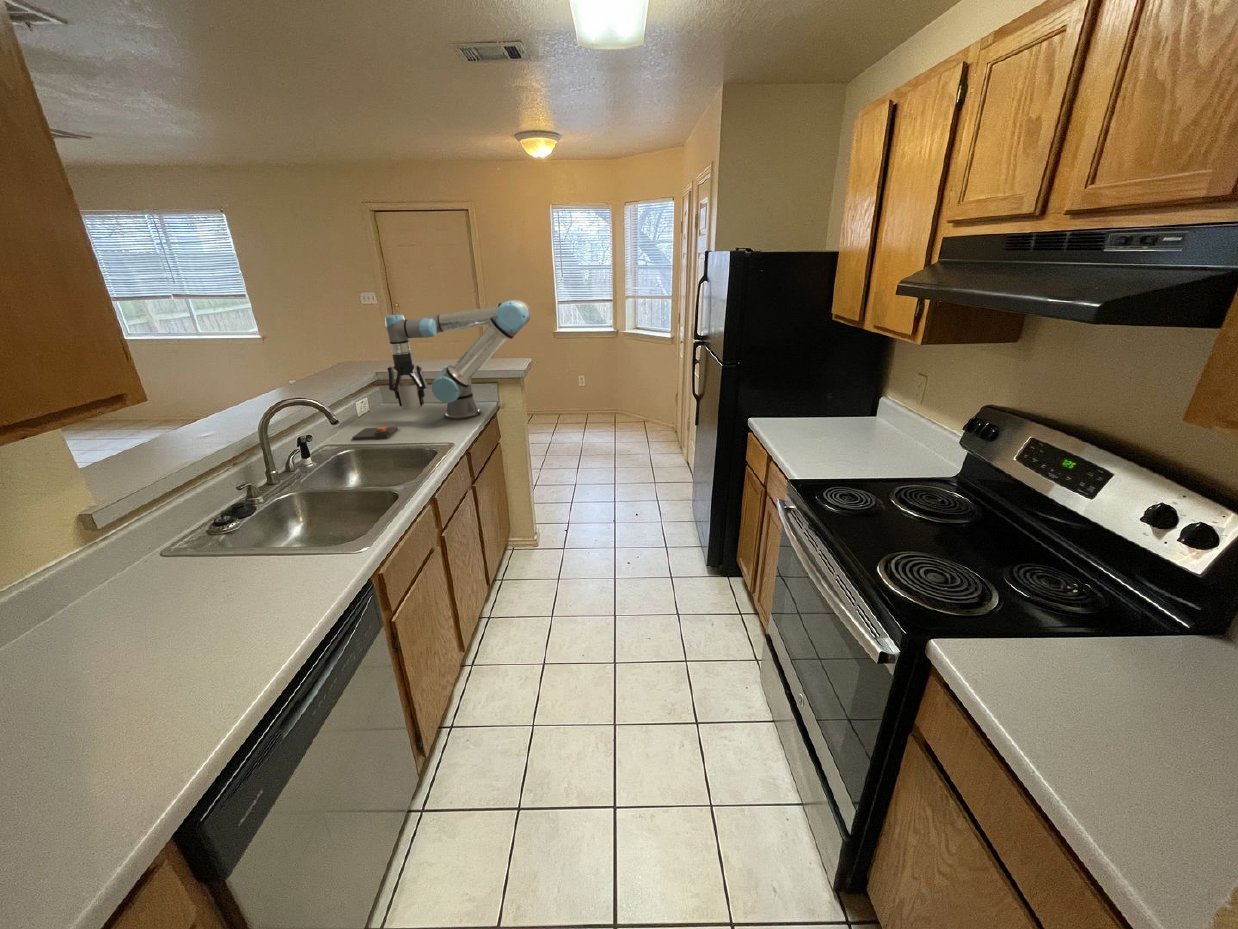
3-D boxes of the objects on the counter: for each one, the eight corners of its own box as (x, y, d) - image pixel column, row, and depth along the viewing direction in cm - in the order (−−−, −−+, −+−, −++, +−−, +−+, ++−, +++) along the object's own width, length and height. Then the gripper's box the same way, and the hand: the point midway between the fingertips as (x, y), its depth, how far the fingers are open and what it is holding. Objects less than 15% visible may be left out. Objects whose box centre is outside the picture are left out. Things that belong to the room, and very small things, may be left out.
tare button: (387, 430, 211) (386, 426, 210) (384, 432, 208) (383, 428, 207) (380, 430, 210) (379, 426, 210) (377, 432, 208) (376, 429, 207)
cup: (398, 408, 220) (393, 386, 216) (410, 403, 227) (405, 381, 223) (414, 409, 218) (409, 386, 214) (426, 404, 225) (422, 382, 221)
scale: (399, 429, 219) (397, 423, 218) (388, 439, 207) (386, 432, 206) (365, 431, 219) (364, 424, 218) (352, 440, 207) (350, 433, 206)
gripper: (372, 355, 210) (384, 408, 218) (423, 353, 210) (433, 406, 219) (379, 352, 217) (391, 403, 225) (429, 350, 217) (438, 401, 226)
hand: (412, 404), depth 222 cm, fingers closed on cup, 8 cm apart
